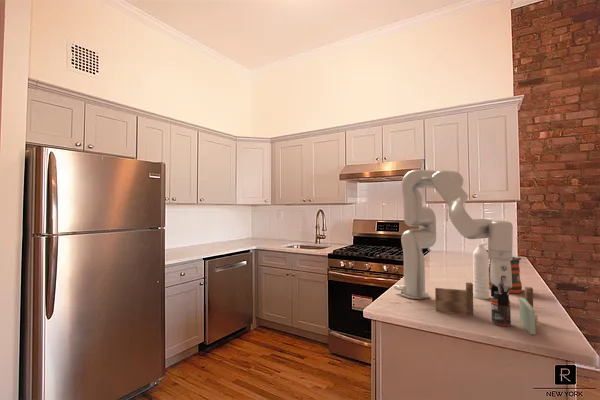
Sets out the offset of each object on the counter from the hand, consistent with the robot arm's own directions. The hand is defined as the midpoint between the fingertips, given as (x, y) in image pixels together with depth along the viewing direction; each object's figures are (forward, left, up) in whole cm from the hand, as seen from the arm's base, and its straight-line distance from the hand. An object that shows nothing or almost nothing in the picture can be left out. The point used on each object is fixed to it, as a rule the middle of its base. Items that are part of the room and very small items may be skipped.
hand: (499, 301), depth 115 cm
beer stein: (+12, +52, -8) cm, 54 cm away
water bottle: (+1, +35, -8) cm, 36 cm away
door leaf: (+9, -1, -8) cm, 12 cm away
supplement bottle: (0, 0, -8) cm, 8 cm away
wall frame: (-4, +8, -8) cm, 12 cm away
